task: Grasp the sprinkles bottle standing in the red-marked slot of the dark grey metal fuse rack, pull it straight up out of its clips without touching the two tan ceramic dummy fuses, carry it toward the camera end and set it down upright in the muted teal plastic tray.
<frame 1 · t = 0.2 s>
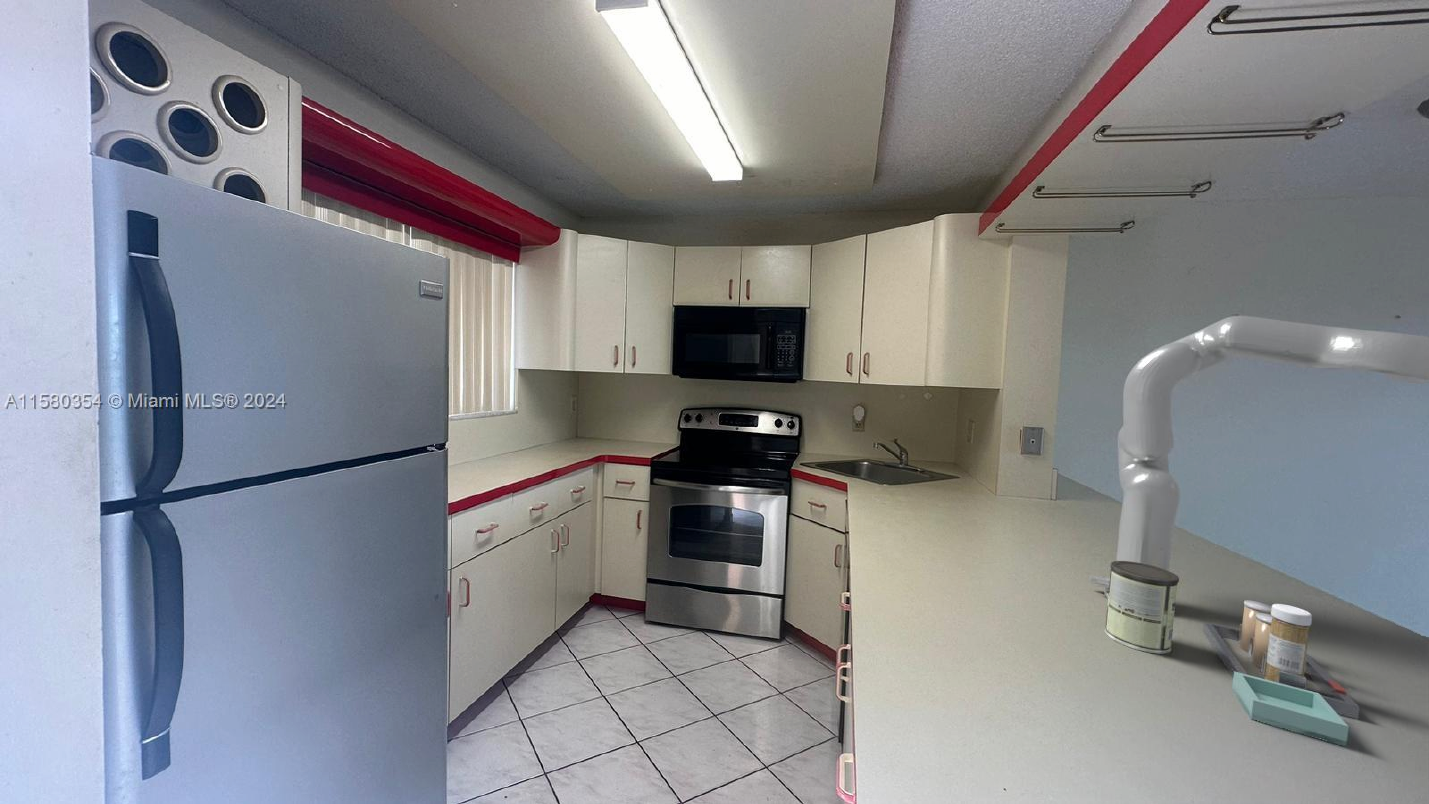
coffee can: (1136, 641, 102), on the worktop
fuse rack: (1268, 668, 94), on the worktop
dummy fuses: (1268, 668, 94), resting in fuse rack
tray: (1284, 715, 80), on the worktop
sprinkles bottle: (1282, 687, 88), resting in fuse rack
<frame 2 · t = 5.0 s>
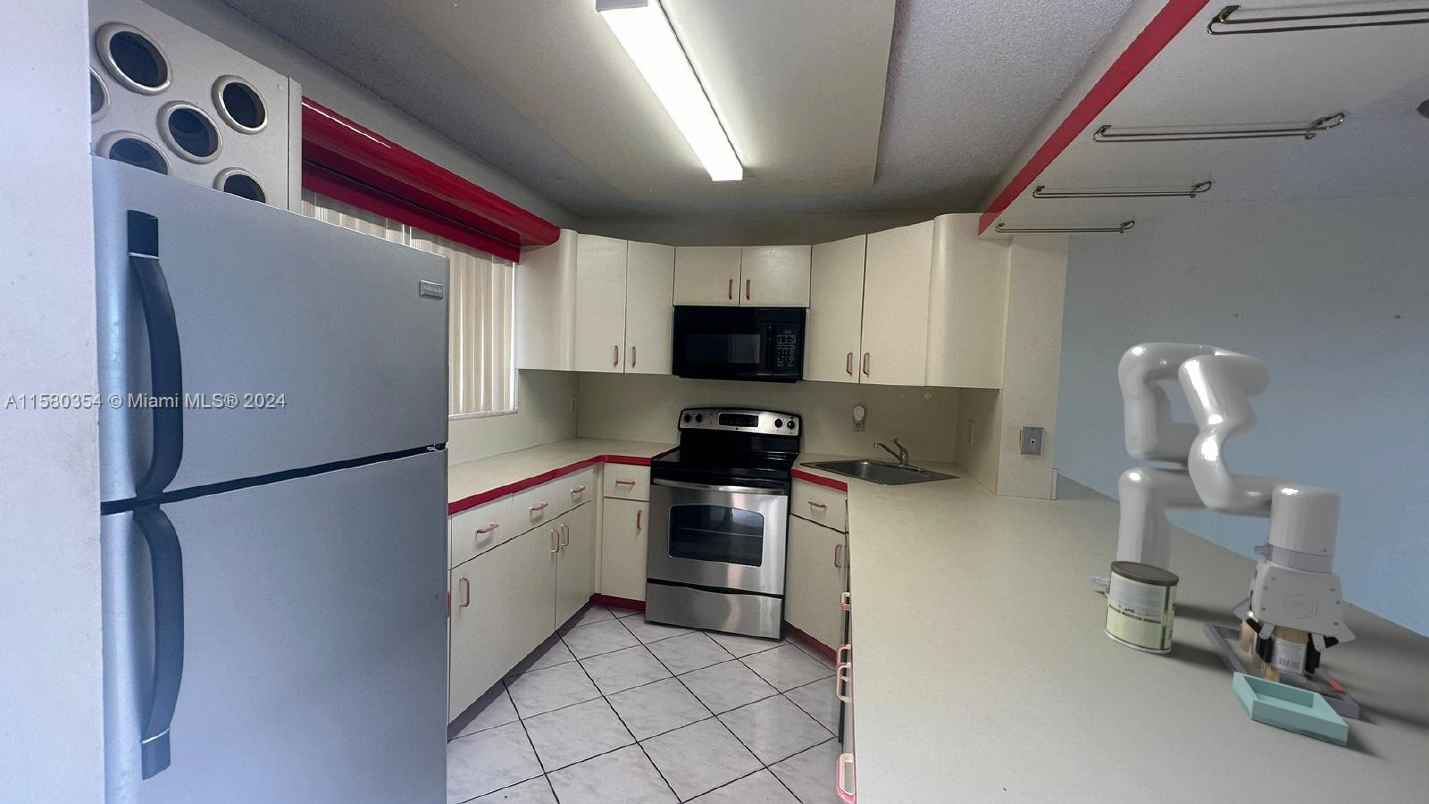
hand: (1285, 663, 88), 4 cm above the worktop, fingers closed on sprinkles bottle, 4 cm apart
sprinkles bottle: (1282, 687, 88), resting in fuse rack, touching gripper
everything else where it was.
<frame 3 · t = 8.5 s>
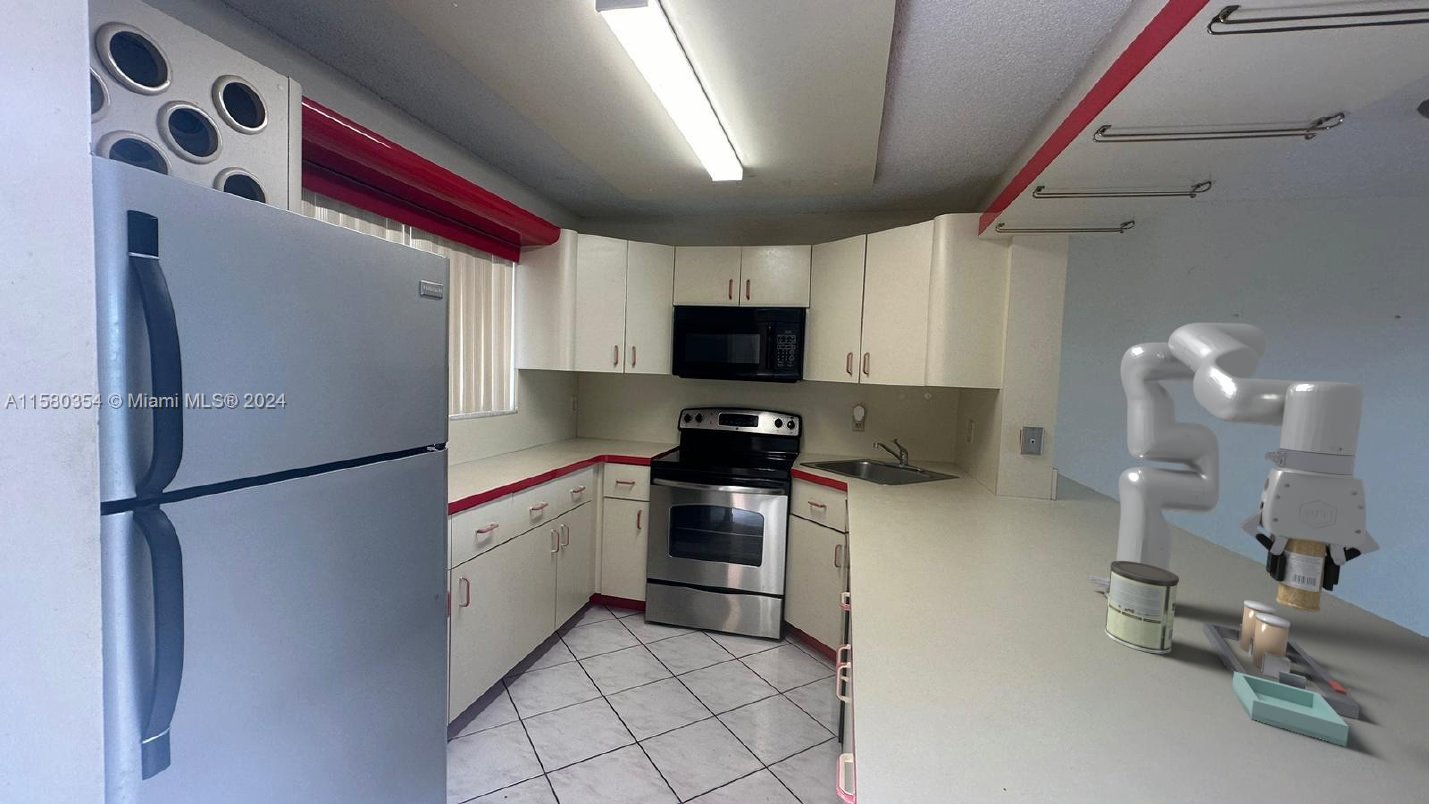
hand: (1300, 582, 79), 21 cm above the worktop, fingers closed on sprinkles bottle, 4 cm apart
sprinkles bottle: (1296, 608, 79), point 17 cm above the worktop, touching gripper
everything else where it was.
when the fingers open (6 cm above the worktop, at t = 12.0 s): sprinkles bottle stays where it is, resting on tray.
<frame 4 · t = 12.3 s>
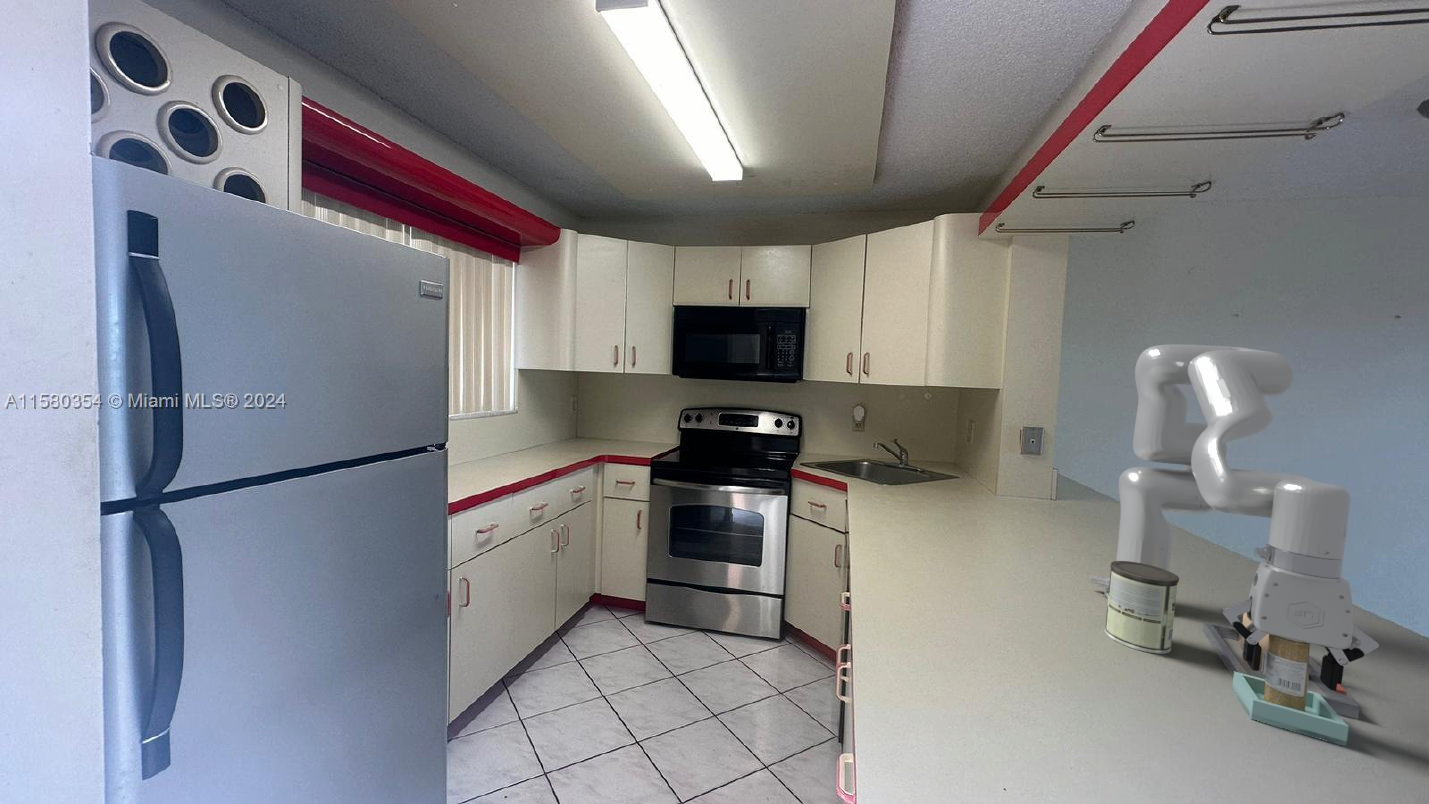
hand: (1289, 675, 80), 6 cm above the worktop, fingers open, 7 cm apart
sprinkles bottle: (1283, 710, 80), point 1 cm above the worktop, touching tray
everything else where it was.
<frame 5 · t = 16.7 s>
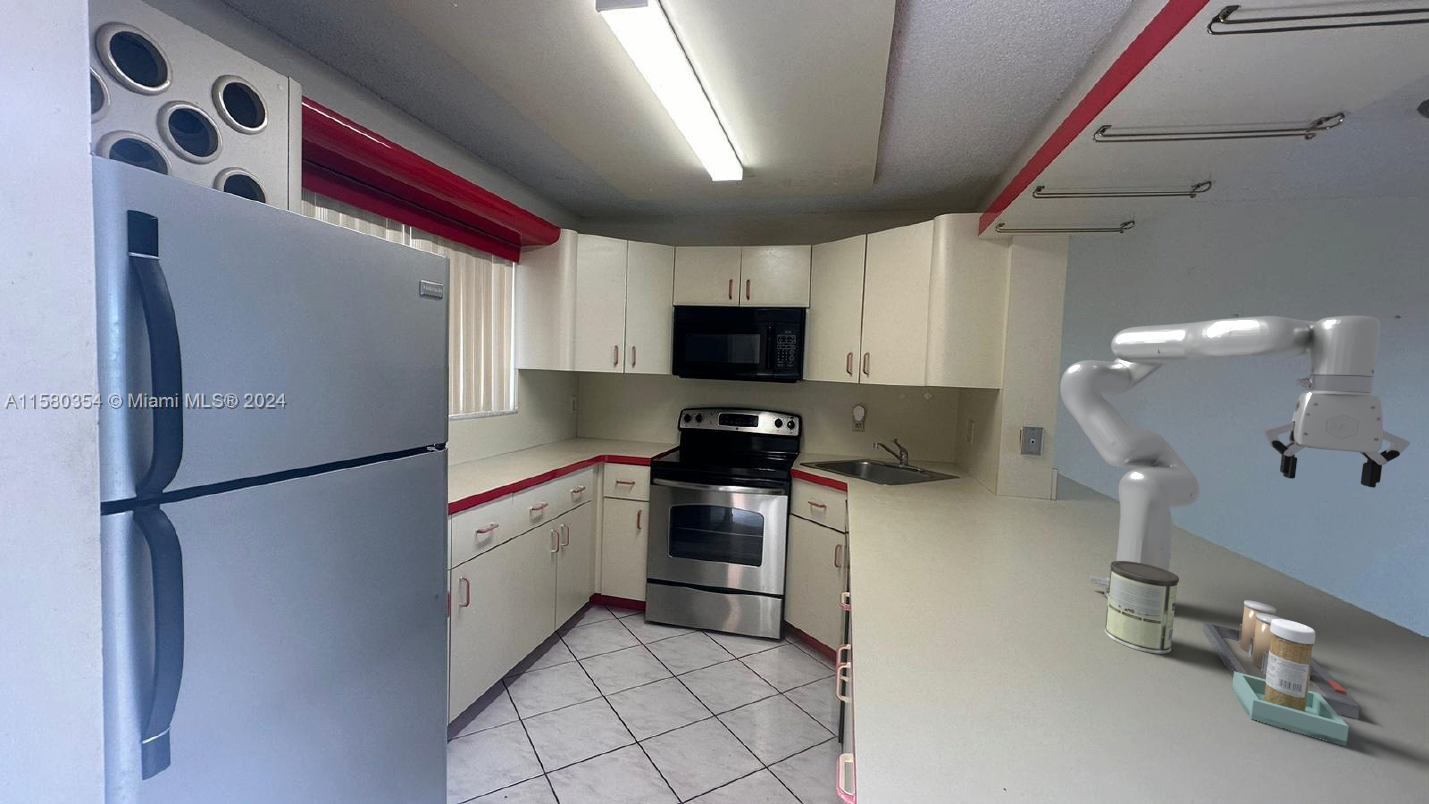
hand: (1327, 481, 93), 34 cm above the worktop, fingers open, 9 cm apart
nothing on the worktop moved.
at the end: sprinkles bottle inside the target area on the tray (0.1 cm from its centre), point 0.6 cm above the tray's base; sprinkles bottle tilted 0°; the gripper is holding nothing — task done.
